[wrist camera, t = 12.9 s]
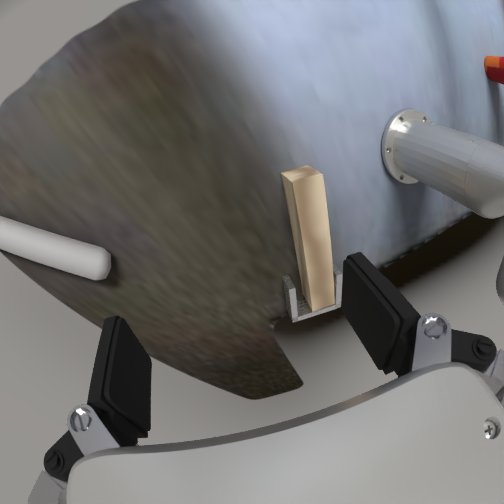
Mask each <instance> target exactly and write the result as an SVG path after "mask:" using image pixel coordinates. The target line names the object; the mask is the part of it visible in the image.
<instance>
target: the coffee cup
mask: <svg viewBox="0 0 504 504" xmlns="http://www.w3.org/2000/svg"><path fill="white" fill-rule="evenodd" d="M484 66H485V71H486V74H487V76H488V78H489V79H490V80H491V81H494V82H498V83H501V84H504V57H496V56H487V57H486V58H485V61H484Z"/></svg>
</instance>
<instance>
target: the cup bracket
mask: <svg viewBox="0 0 504 504" xmlns="http://www.w3.org/2000/svg"><path fill="white" fill-rule="evenodd" d="M332 264H333V279H334V296H335V304H333V305H330V306H327V307H325V308H322V309H319V310H317V311H314V312H312V310H311V308H310V306H309V304H308V302H307V301H306V299H305V300H302V301H299V302H297V301H296V291H295V287H294V285H293V283H292V281H291V279H290V277H289V275H286V276H283V285H284V292H285V300H286V308H287V311H288V313H289V315H290V318H291V320H292V322H296V321H299V320H303V319H306V318H309V317H312V316H315V315H318V314H322V313H324V312H327V311H330V310H334V309H337V308H339V307H341V292H342V273H341V272H340V270H339V269H338V268H337V266H336V265H335V264H334V263H333V262H332Z"/></svg>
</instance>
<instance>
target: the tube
mask: <svg viewBox="0 0 504 504" xmlns="http://www.w3.org/2000/svg"><path fill="white" fill-rule="evenodd" d="M0 249H2V250H5V251H7V252H10V253H13V254H15V255H18V256H21V257H24V258H27V259H29V260H32V261H35V262H38V263H41V264H44V265H47V266H50V267H53V268H56V269H60V270H63V271H66V272H69V273H72V274H76V275H79V276H82V277H86V278H89V279H93V280H101V279H106V278H107V275H108V273H109V271H110V269H111V254H110V253H109V252H107V251H106V250H105V249H104V248H102V247H98V246H95V245H92V244H88V243H85V242H81V241H78V240H75V239H71V238H68V237H65V236H61V235H58V234H55V233H52V232H48V231H45V230H42V229H39V228H36V227H32V226H29V225H26V224H23V223H20V222H17V221H14V220H11V219H8V218H5V217H2V216H0Z"/></svg>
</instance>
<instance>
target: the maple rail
mask: <svg viewBox="0 0 504 504" xmlns="http://www.w3.org/2000/svg"><path fill="white" fill-rule="evenodd" d="M281 177H282V182H283V187H284V192H285V197H286V202H287V207H288V212H289V217H290V222H291V228H292V233H293V239H294V244H295V250H296V255H297V261H298V267H299V273H300V279H301V285H302V291H303V295H304V297H305V299H306V301H307V302H308V304H309V306H310V308H311V310H312V312H314V311H317V310H319V309H322V308H325V307H327V306H330V305H333V304H335V296H334V279H333V264H332V251H331V240H330V230H329V220H328V211H327V203H326V195H325V187H324V180H323V174H321V173H319V172H318V171H316V170H314V169H313V168H311V167H309V166H304V167H300V168H297V169H293V170H289V171H285V172H281Z"/></svg>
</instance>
